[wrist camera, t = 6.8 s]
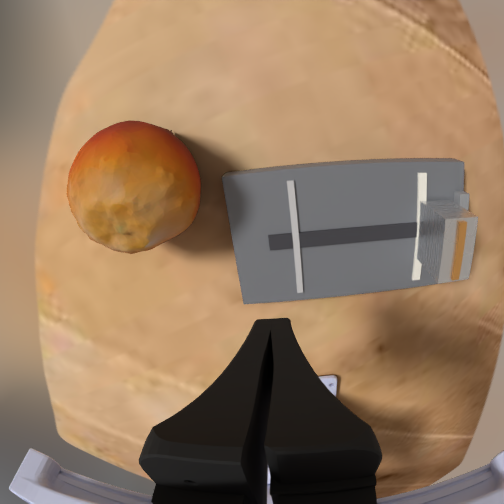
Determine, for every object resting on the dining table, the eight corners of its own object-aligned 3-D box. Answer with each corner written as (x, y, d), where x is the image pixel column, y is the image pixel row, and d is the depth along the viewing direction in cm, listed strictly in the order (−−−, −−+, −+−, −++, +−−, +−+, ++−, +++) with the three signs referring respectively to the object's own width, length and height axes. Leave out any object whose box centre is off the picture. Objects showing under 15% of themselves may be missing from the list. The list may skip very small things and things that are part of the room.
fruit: (188, 77, 16) (157, 155, 11) (219, 172, 22) (212, 264, 17) (79, 113, 17) (24, 196, 12) (125, 191, 23) (98, 276, 19)
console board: (444, 272, 21) (457, 286, 19) (245, 293, 23) (242, 310, 21) (453, 158, 17) (470, 164, 15) (225, 172, 19) (219, 179, 17)
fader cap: (445, 254, 18) (469, 280, 15) (416, 258, 19) (439, 285, 15) (450, 199, 17) (479, 218, 13) (420, 201, 17) (447, 220, 14)
